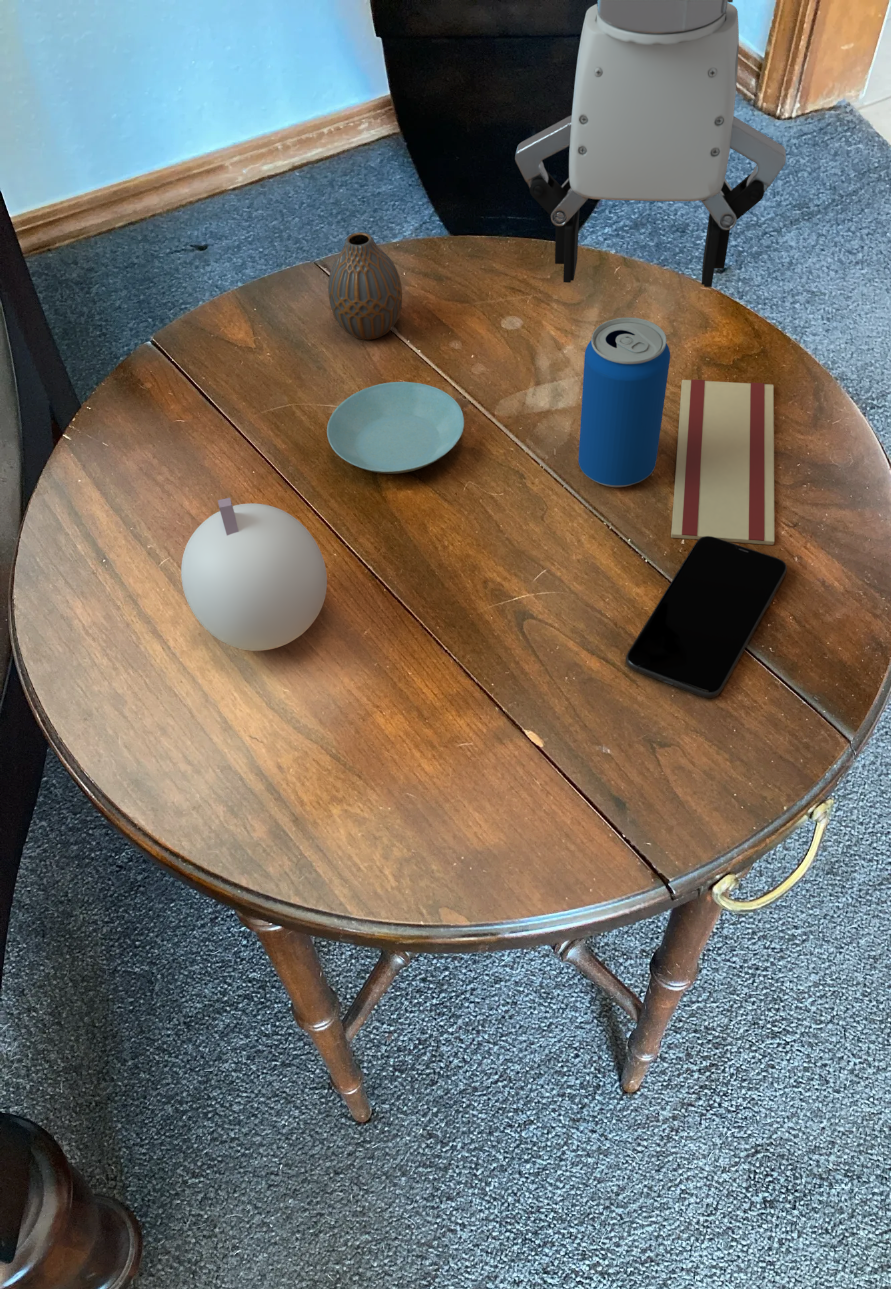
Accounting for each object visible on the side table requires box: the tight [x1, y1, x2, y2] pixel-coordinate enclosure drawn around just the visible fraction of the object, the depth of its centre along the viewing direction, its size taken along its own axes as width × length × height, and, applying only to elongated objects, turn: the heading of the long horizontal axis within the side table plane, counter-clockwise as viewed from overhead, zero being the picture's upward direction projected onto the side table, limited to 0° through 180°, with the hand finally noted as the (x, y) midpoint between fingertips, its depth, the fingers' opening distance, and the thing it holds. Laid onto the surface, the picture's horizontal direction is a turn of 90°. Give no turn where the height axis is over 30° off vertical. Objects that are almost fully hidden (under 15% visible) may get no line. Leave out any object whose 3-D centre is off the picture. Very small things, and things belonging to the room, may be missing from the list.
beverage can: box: [578, 317, 671, 488], centre depth 86 cm, size 6×6×12 cm
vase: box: [327, 231, 403, 341], centre depth 100 cm, size 7×7×9 cm
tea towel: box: [670, 379, 775, 546], centre depth 91 cm, size 8×20×1 cm, turn 171°
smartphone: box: [625, 536, 788, 699], centre depth 80 cm, size 7×1×15 cm
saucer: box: [326, 381, 465, 475], centre depth 93 cm, size 12×12×2 cm
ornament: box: [180, 497, 328, 652], centre depth 78 cm, size 10×10×12 cm
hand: (638, 274), depth 76 cm, fingers open, 9 cm apart
